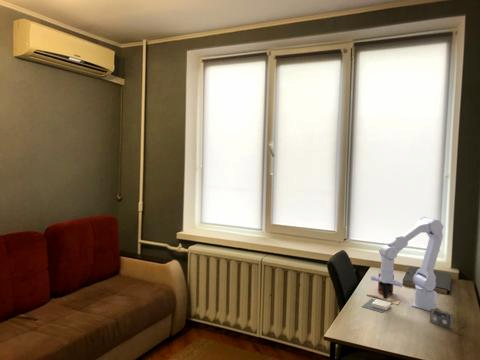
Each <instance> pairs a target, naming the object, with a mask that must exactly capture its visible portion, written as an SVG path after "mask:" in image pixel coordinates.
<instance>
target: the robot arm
mask: <svg viewBox="0 0 480 360" xmlns="http://www.w3.org/2000/svg"><path fill="white" fill-rule="evenodd" d="M415 223H416V224H414V225H413V226H412V227H411V228H409V230H408V231H406V232H405V233H404V234H403V235H396V236H395V237H394V239H393V240H391V241H390V242H388V243H387V245H385V244H384V245H382V246H381V247H380V250H379V251H378V253H379V254H380V259H381V261H380V271H381V275H380V277H379V275H371V276H370V281H374V282H377V283H378V282H380V284H379V285H380V287H381V290H382V293H383V295H382V296H383V298H385V299H388V298H389V295H388V294H389V291H390V289H391V288H392V286H393V287H394V286H395V287H399V288H403V287H404V286H403V281H400V280H396V279H394V280H393V273H394V267H395V259H396V258H397V257H398V255H399V253H400V252H401V250H403V249H404V248H406V247H407V246H408V242H409V241H411V240H413V239H414V238H415V237H417V236H418V235H419V234H421V233H424V234H425V233H426V235H427V236H428V238H429V239H428V241H427V242H428V243H427V246H426V249H425V253H424V256H423V260H422V263H421V266H420V267H419V268H420V269H418V270H417V272H416V274H415V275H414V277H413V282H414V283H415V286H416V288H415V293H414V302H413V303H412V305H411V306H412V307H415V308H418V309H421V310H425V311H429V312H430V309H434V310H436V308H437V301H438V300H437V299H438V297H437V296H438V292H435V291H433V289H434V288H435V286H436V282H435V280H436V276H435V274H434V272H433V271H435V266H436V263H437V259H438V256H439V252H440V249H441V247H442V246H441V245H442V241H443V237H444V235H443V234H444V233H443V229H444V225H443V223H442V222H441V221H440V220H439V219H434V218H431V217H427V216H422V217H421V218H420V219H418V220H417V221H416V222H415Z"/></svg>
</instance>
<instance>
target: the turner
mask: <svg viewBox="0 0 480 360" xmlns="http://www.w3.org/2000/svg"><path fill="white" fill-rule="evenodd" d="M366 296H367V297H371V298H373V299H378V300H382V301H386V302H390V303H391V305H395V306H397V305H399V304H400V303H401V301H400V300H396V299H392V298H389V297H388V298H387V299H385V298H383V297H382V296H378V295H375V294H371V293H366Z"/></svg>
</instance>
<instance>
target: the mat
mask: <svg viewBox="0 0 480 360" xmlns="http://www.w3.org/2000/svg"><path fill="white" fill-rule="evenodd" d="M376 299H377V298H371V299H369V300H368V301H367V302H365V303H364V304H362V305H361V308H364V309H368V310H371V311H374V312H378V313H381V314H383V313H384V312H385V311H386V310H383V309H379V308H376V307H372V303H373V302H374V301H375V300H376Z"/></svg>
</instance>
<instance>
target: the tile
mask: <svg viewBox="0 0 480 360" xmlns="http://www.w3.org/2000/svg"><path fill="white" fill-rule="evenodd" d="M375 299H376V300H375V301H374V302H373V303H372V307H376V308H379V309H383V310H385V311H387V310H388V309H389V308H390V307H391V306H392V304H391V303H390V302H386V301H385V300H381V299H378V298H375Z"/></svg>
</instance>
